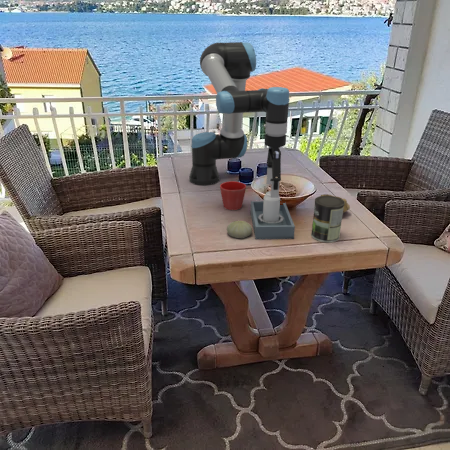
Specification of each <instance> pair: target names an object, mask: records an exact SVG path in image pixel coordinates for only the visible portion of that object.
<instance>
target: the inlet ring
mask: <svg viewBox="0 0 450 450" xmlns="http://www.w3.org/2000/svg"><path fill="white" fill-rule="evenodd" d="M283 222H284V217H282V216H281V215H280V214H279V221H277V222H267V221H264V220H263V214H260V215H259V217H258V223H259V224H260V225H261V226H280V225H283Z"/></svg>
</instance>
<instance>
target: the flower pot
mask: <svg viewBox="0 0 450 450" xmlns="http://www.w3.org/2000/svg"><path fill="white" fill-rule="evenodd" d="M219 188H220V190H219V191H220V194H221V196H220V197H221V200H222V205H223V208H224V209H226V210H228V211H237V210H240V209H242V206H243V204H244V199H245V194H246V190H247V185H246V184H245V183H243V182H240V181H233V180H231V181H230V180H229V181H225V182H222V183H221V184H220V185H219Z"/></svg>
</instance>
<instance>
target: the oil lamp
mask: <svg viewBox="0 0 450 450" xmlns="http://www.w3.org/2000/svg"><path fill="white" fill-rule="evenodd" d="M320 196H333V195H331V194H327V193H325V194H320ZM334 196H335V195H334ZM335 197H338V198H341V199H342V200H344V202H345V204H344V208H343V214H344V213H346V212H347V211H348V210H350V208H351V206H350V204H349V203H348V202H347V199H346V198H342V197H341V196H340V197H339V196H335Z"/></svg>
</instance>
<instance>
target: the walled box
mask: <svg viewBox="0 0 450 450" xmlns="http://www.w3.org/2000/svg"><path fill="white" fill-rule="evenodd" d="M263 202H264V200H261V201H260V200H259V201H258V200H257V201H255V200H253V201H252V200H250V207H249V209H250V210H249V211H250V212H249V213H250V218H251V223H252V230H253V233H254V239H255V240H294V239H295V231H296V230H295V228H296V226H295V224H294V220H293V218H292V216H291V213H290V211H289V209H288V206H287V203H286V202H285V203H283V205H280V210H279V214H280V215H281V216H282V217H284V222H283V225H280V226H261V225H260V224H259V223H258V217H259V215H260V214H263Z"/></svg>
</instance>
